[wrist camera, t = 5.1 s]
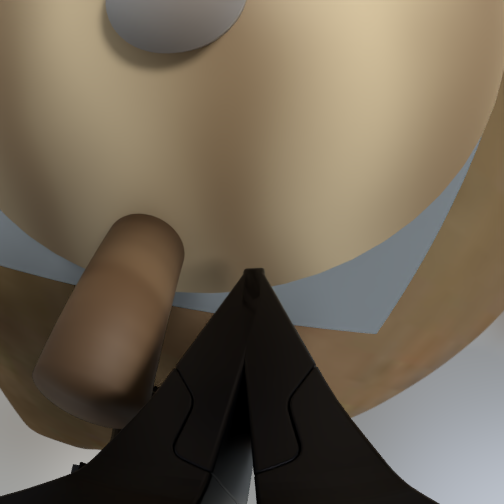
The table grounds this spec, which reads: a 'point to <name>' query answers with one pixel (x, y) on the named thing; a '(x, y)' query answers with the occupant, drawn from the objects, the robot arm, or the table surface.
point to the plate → (297, 292)
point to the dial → (222, 152)
